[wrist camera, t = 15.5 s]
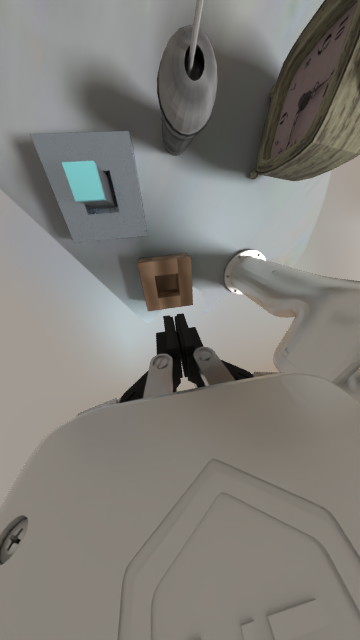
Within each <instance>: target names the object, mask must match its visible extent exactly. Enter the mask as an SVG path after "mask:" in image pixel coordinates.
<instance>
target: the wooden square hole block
mask: <svg viewBox="0 0 360 640" xmlns="http://www.w3.org/2000/svg"><path fill="white" fill-rule="evenodd" d="M137 264H138V268H139V273H140V277H141V282H142V287H143V291H144V296H145V300H146V305H147V309H148V311H153V310H160V309H167V308H175V307H181V306H189V305H193V299H192V298H193V296H192V267H191V257H190V256H189V255H188V254H186V253H185V254H176V255H167V256H157V257H148V258H139V261H138V263H137Z"/></svg>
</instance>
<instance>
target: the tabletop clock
mask: <svg viewBox="0 0 360 640" xmlns="http://www.w3.org/2000/svg"><path fill="white" fill-rule="evenodd" d="M270 98H271V99H272V100H271V104H270V107H269V111H268V115H267V118H266V122H265V125H264V129H263V134H262V138H261V142H260V147H259V151H258V156H257V161H256V169H254V170H252V171H251V174H250V177H251V179H255V178H256V177H257V176H258V174H259V175H264V176H270V177H275V178H280V179H285V180H290V181H299V180H304V179H309V178H313V177H315V176H318V175H320V174H323V173H325V172H328V171H330V170H332V169H334V168H336V167H338V166H340V165H342V164H344V163H346V162H348V161H350V160H352V159H353V158H355V157H357V156H358V155H360V0H325V1H324V2H323V3H322V5H321V6H320V8H319V9H318V10H317V12H316V13H315V15H314V16H313V17H312V19H311V20H310V22H309V23H308V24H307V26H306V27H305V29H304V30H303V32H302V33H301V35H300V36H299V38H298V39H297V41H296V42H295V44H294V46H293V47H292V49H291V51H290V52H289V54H288V56H287V58H286V60H285V61H284V63H283V66H282V69H281V72H280V74H279V77H278V80H277V83H276V85H275V86H273V88H272V90H271V93H270Z"/></svg>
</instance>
